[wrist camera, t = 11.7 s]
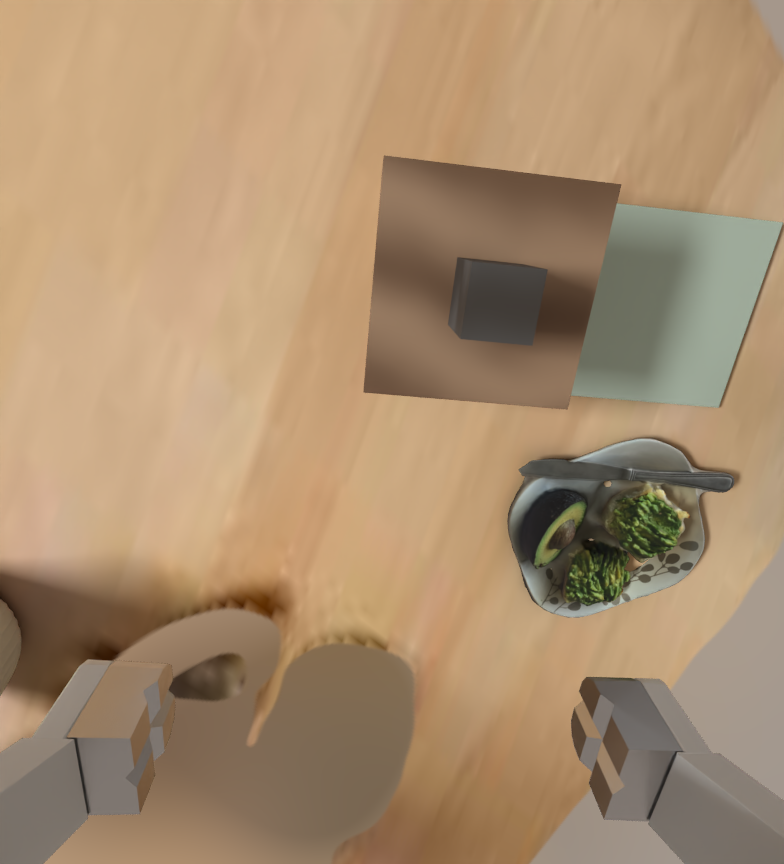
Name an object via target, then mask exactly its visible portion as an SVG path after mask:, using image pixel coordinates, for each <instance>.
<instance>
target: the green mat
mask: <svg viewBox="0 0 784 864" xmlns="http://www.w3.org/2000/svg"><path fill="white" fill-rule="evenodd" d="M782 224H783V222H774V221H765V220H757V219H748V218H739V217H731V216H722V215H713V214H705V213H696V212H687V211H679V210H670V209H661V208H653V207H644V206H635V205H626V204H618V203H617V205H616V209H615V213H614V217H613V221H612V226H611V230H610V234H609V238H608V242H607V247H606V251H605V255H604V259H603V263H602V267H601V272H600V276H599V280H598V284H597V288H596V292H595V297H594V301H593V305H592V309H591V313H590V318H589V322H588V326H587V330H586V334H585V338H584V343H583V347H582V351H581V355H580V359H579V363H578V368H577V372H576V376H575V380H574V384H573V389H572V393H571V395H572V396H584V397H596V398H608V399H620V400H632V401H644V402H656V403H668V404H680V405H692V406H704V407H716V408H719V405H720V402H721V399H722V396H723V393H724V390H725V388H726V385H727V382H728V379H729V376H730V373H731V370H732V368H733V365H734V362H735V359H736V356H737V353H738V350H739V347H740V345H741V342H742V339H743V336H744V333H745V330H746V327H747V325H748V322H749V319H750V316H751V313H752V310H753V307H754V305H755V302H756V299H757V296H758V293H759V290H760V287H761V284H762V282H763V279H764V276H765V273H766V270H767V267H768V264H769V262H770V259H771V256H772V253H773V250H774V247H775V244H776V241H777V239H778V236H779V233H780V230H781V227H782Z"/></svg>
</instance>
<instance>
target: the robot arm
mask: <svg viewBox="0 0 784 864" xmlns="http://www.w3.org/2000/svg"><path fill="white" fill-rule="evenodd" d="M172 680H173V673H172V665H170V664H166V663H148V662H132V661H107V660H90V659H88V660H86V661H85V662H84V663H83V664H81V665H80V666H79V667H78V669H77V670H76V672H75V673H74V675H73V676H72V678H71V679H70V681H69V682H68V684H67V685H66V687H65V688H64V690H63V691H62V693H61V694H60V696H59V697H58V699H57V700H56V702H55V703H54V705H53V706H52V708H51V709H50V711H49V712H48V714H47V715H46V717H45V718H44V720H43V721H42V723H41V724H40V726H39V727H38V729H37V730H36V732H35V733H34V735H33V736H32V737H31V738H21V739H20V740H18V741H17V742H15V743H14V744H13V745H11V746H10V747H8V748H7V749H5V750H4V751H2V752H1V753H0V864H43V863H45V861H47V860H48V858H49V857H50V856H51V855H52V854H53V853H54V852H55V851H56V850H57V849H58V848H59V847H60V846H61V845H62V844H63V843H64V842H65V841H66V840H67V839H68V838H69V837H70V836H71V835H72V834H73V833H74V832H75V831H76V830H77V829H78V828H79V827H80V826H81V825H82V824H83V823H84V822H85V821H86V820H87V819H88V815H117V814H118V815H120V814H140V812H141V810H142V807H143V805H144V802H145V800H146V797H147V795H148V792H149V790H150V787H151V784H152V782H153V780H154V777H155V770H154V760H155V759H157V758H158V757H159V756H160V755H161V754H162V753H163V752H164V751H165V749H166V746H167V743H168V741H169V738H170V735H171V730H172V726H173V722H174V715H175V696H174V695H173V694H172V693H171V692H170V691H169V687H170V685H171V683H172ZM579 692H580V694H581V696H582V698H583V701H582V702H581V703H579V704H578V705H577V706H576V707H575V708H574V711H573V715H572V719H571V728H572V738H573V743H574V747H575V750H576V752H577V755H578V757H579V760H580V761H581V762H582V763H583V764H584V765H585V766H586V767H587V768H588V769H590V770H591V771H592V773H591V777H590V781H589V785H590V787H591V790H592V792H593V794H594V797H595V799H596V802H597V804H598V807H599V809H600V811H601V814H602V816H603V818H604V820H627V821H649V823H648V824H649V826H650V827H651V828H652V829H653V830H654V831H655V832H656V833H657V834H658V835H659V836H660V838H661V839H662V840H663V841H664V842H665V843H666V844H667V845H668V846H669V847H670V848H671V850H672V851H673V852H674V853H675V854H676V855H677V856H678V857H679V858H680V859H681V860H682V862H684V864H784V800H782V799H781V798H780V797H778V796H777V795H775V794H774V793H773V792H771V791H770V790H769V789H767V788H766V787H765V786H763V785H762V784H760V783H759V782H758V781H756V780H755V779H753V778H752V777H751V776H750V775H748V774H747V773H746V772H744V771H743V770H741V769H740V768H739V767H737V766H736V765H734V764H733V763H732V762H731V761H729V760H728V759H727V758H725V757H724V756H722V755H721V754H719V753H712V752H711V751H710V749H709V748H708V746H707V745H706V743H705V742H704V740H703V739H702V737H701V736H700V734H699V733H698V731H697V730H696V728H695V727H694V725H693V724H692V722H691V721H690V720H689V718H688V716H687V715H686V713H685V712H684V710H683V709H682V708H681V706H680V705H679V703H678V702H677V700H676V699H675V697H674V696H673V694H672V693H671V691H670V690H669V688H668V687H667V685H666V684H665V683H664V682H663V681H661V680H660V679H646V678H634V679H633V678H607V677H586V678H585V679H584V680H583V681H582V684H581V687H580V690H579Z"/></svg>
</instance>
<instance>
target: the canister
mask: <svg viewBox="0 0 784 864" xmlns="http://www.w3.org/2000/svg"><path fill="white" fill-rule="evenodd" d="M20 635H21V630H20V628H19V626H18V621H17V619H16V618H15V617H14V616H13V611H12V610H10V609H9V608H8V606H7V603H5V602H3V601H2V600H1V599H0V696H1V694H2V692H3V691H4V689H5V687H6V686H7V684H8V682H9V680H10V679H11V677H12V675H13V673H14V671H15V669H16V666H17V663H18V660H19V657H20V653H21V644H22V638H21V636H20Z"/></svg>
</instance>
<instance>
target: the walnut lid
mask: <svg viewBox="0 0 784 864" xmlns="http://www.w3.org/2000/svg"><path fill="white" fill-rule="evenodd" d="M620 188H621V184H613V183H605V182H596V181H588V180H580V179H572V178H564V177H555V176H547V175H539V174H531V173H523V172H514V171H506V170H498V169H490V168H482V167H473V166H465V165H457V164H449V163H441V162H432V161H424V160H416V159H408V158H400V157H391V156H384V158H383V169H382V181H381V192H380V204H379V216H378V227H377V239H376V251H375V263H374V274H373V286H372V298H371V309H370V321H369V333H368V345H367V356H366V368H365V380H364V392H365V393H377V394H389V395H401V396H413V397H425V398H437V399H449V400H460V401H472V402H484V403H496V404H508V405H520V406H532V407H544V408H556V409H568V405H569V401H570V397H571V393H572V389H573V384H574V380H575V376H576V372H577V368H578V363H579V359H580V355H581V351H582V347H583V343H584V338H585V334H586V330H587V326H588V322H589V318H590V313H591V309H592V305H593V301H594V297H595V292H596V288H597V284H598V280H599V276H600V272H601V267H602V263H603V259H604V255H605V251H606V247H607V242H608V238H609V234H610V230H611V226H612V221H613V217H614V213H615V209H616V205H617V201H618V196H619V192H620Z"/></svg>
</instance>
